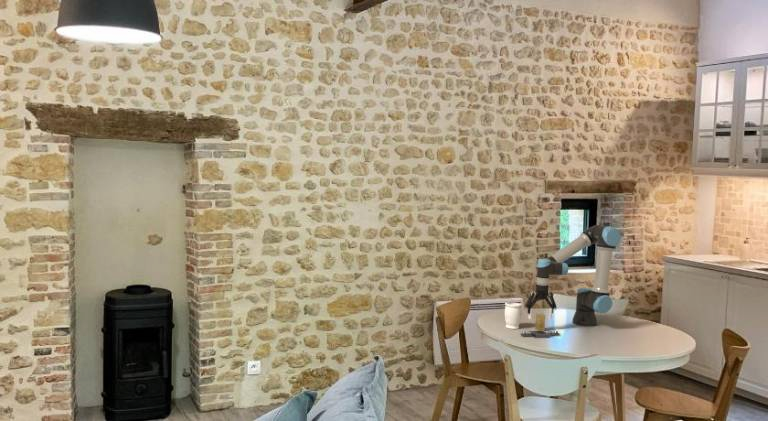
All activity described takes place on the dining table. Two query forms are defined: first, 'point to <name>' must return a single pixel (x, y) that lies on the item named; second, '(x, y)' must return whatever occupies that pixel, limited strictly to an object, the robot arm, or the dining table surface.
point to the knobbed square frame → (540, 334)
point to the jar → (513, 315)
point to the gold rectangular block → (540, 322)
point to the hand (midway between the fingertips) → (539, 318)
